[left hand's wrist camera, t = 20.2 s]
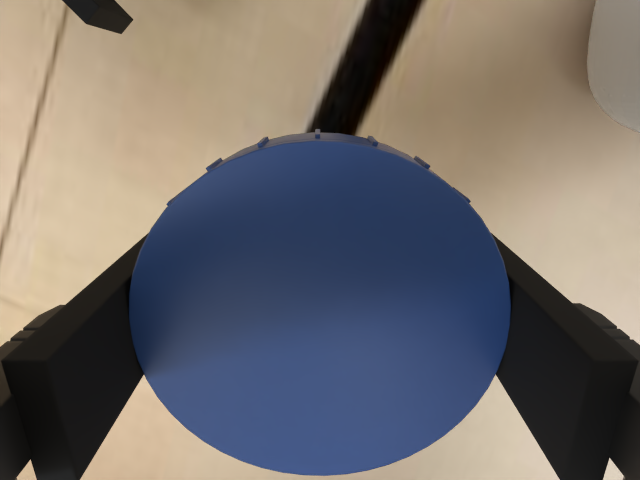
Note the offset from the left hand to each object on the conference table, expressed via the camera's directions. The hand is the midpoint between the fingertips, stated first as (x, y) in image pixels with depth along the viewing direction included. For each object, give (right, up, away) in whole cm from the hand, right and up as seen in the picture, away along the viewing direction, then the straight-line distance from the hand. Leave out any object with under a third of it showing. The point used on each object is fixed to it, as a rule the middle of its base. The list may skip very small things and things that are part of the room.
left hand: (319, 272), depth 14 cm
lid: (0, -1, -3) cm, 3 cm away
